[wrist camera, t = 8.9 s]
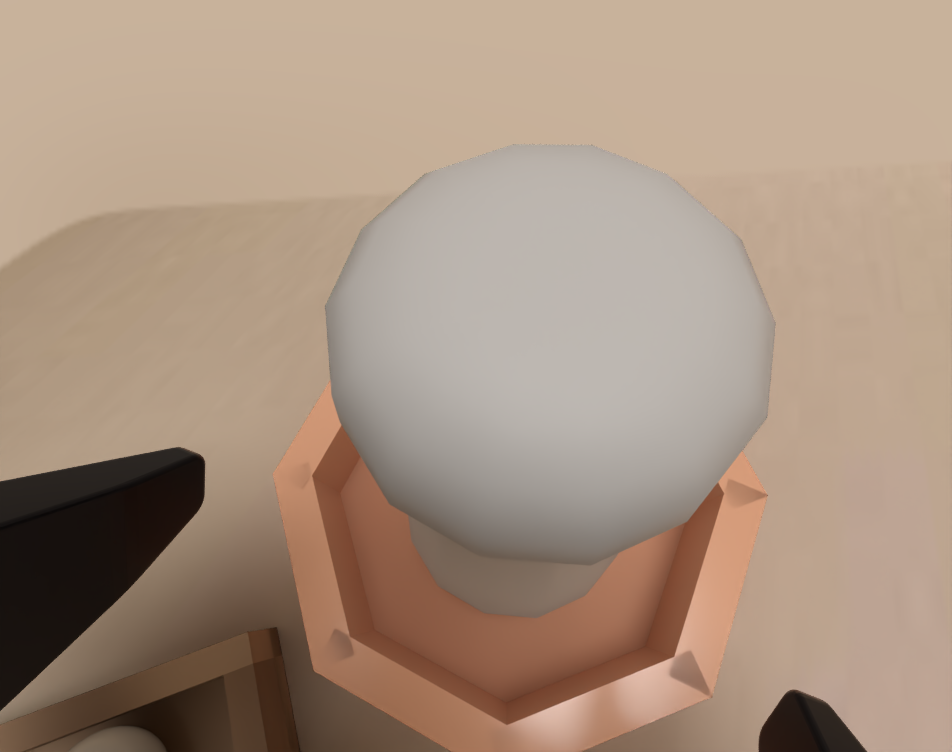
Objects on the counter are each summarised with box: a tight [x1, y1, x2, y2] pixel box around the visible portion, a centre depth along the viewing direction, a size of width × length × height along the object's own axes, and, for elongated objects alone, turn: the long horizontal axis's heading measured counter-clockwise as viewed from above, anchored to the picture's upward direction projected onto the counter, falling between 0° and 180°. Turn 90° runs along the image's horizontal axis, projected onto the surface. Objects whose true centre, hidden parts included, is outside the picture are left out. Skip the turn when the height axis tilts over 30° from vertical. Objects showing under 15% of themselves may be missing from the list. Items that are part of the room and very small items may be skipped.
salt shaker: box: [325, 144, 776, 618], centre depth 10 cm, size 6×6×13 cm
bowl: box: [273, 381, 768, 752], centre depth 16 cm, size 12×12×4 cm
